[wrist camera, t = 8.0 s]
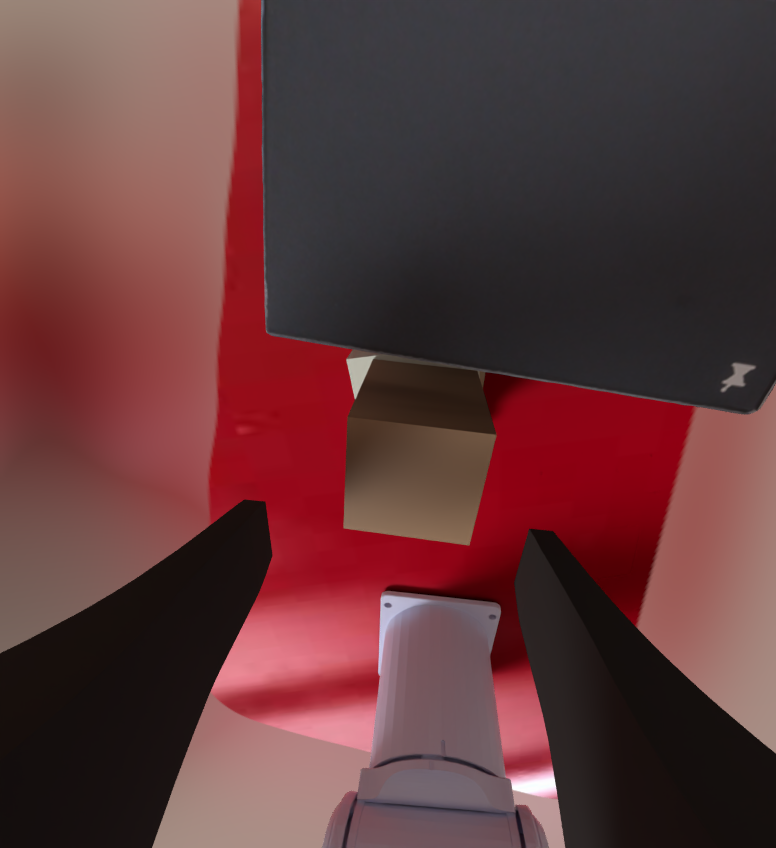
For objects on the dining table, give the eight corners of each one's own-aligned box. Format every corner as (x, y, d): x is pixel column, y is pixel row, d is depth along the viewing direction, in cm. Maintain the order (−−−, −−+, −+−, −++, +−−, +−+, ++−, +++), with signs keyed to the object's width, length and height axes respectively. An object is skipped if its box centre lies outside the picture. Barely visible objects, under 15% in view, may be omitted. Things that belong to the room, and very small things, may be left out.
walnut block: (459, 459, 17) (469, 545, 12) (367, 447, 17) (343, 528, 12) (477, 370, 15) (496, 434, 10) (372, 358, 15) (347, 416, 10)
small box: (651, 141, 14) (1068, -16, 5) (585, 319, 17) (764, 432, 8) (366, 100, 14) (246, -119, 5) (351, 283, 17) (259, 350, 8)
